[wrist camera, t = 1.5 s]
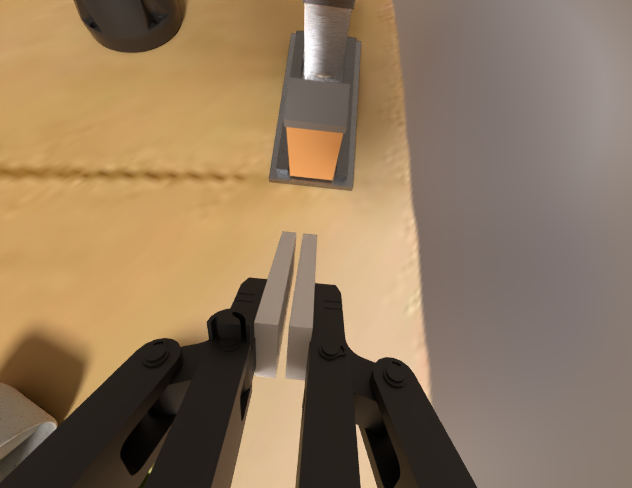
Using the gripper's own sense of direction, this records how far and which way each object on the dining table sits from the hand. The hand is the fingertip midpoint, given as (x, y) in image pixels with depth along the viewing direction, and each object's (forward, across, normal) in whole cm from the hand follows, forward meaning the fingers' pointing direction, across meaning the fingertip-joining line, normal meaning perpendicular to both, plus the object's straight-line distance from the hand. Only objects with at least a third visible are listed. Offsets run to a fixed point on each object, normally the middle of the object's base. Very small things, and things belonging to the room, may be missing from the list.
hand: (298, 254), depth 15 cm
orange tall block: (+26, 0, 0) cm, 26 cm away
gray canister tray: (+35, 0, +6) cm, 35 cm away
